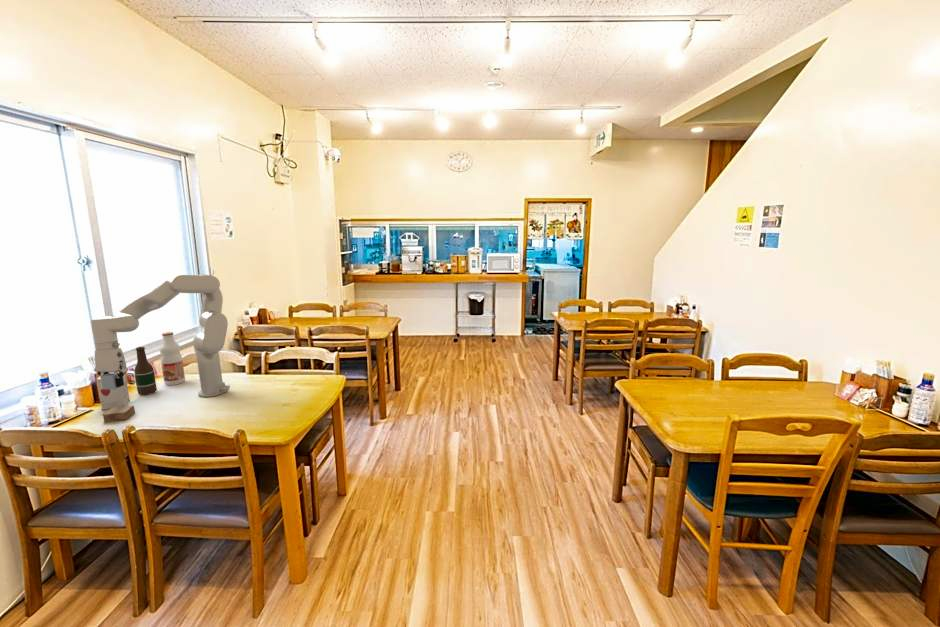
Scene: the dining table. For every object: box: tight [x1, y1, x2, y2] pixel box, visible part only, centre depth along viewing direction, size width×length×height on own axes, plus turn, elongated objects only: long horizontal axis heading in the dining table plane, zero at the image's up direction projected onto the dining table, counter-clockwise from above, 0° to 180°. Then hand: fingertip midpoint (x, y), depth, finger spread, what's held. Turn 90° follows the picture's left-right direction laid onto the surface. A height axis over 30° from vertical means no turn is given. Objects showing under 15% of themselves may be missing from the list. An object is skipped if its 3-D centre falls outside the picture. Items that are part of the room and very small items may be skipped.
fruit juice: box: [159, 331, 186, 386], centre depth 227 cm, size 9×9×28 cm
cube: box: [101, 372, 124, 389], centre depth 181 cm, size 5×5×6 cm
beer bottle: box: [133, 346, 158, 396], centre depth 212 cm, size 8×8×24 cm
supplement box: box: [96, 373, 131, 410], centre depth 198 cm, size 9×9×15 cm
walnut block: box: [102, 404, 136, 424], centre depth 184 cm, size 8×8×4 cm
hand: (113, 385), depth 182 cm, fingers closed on cube, 5 cm apart
